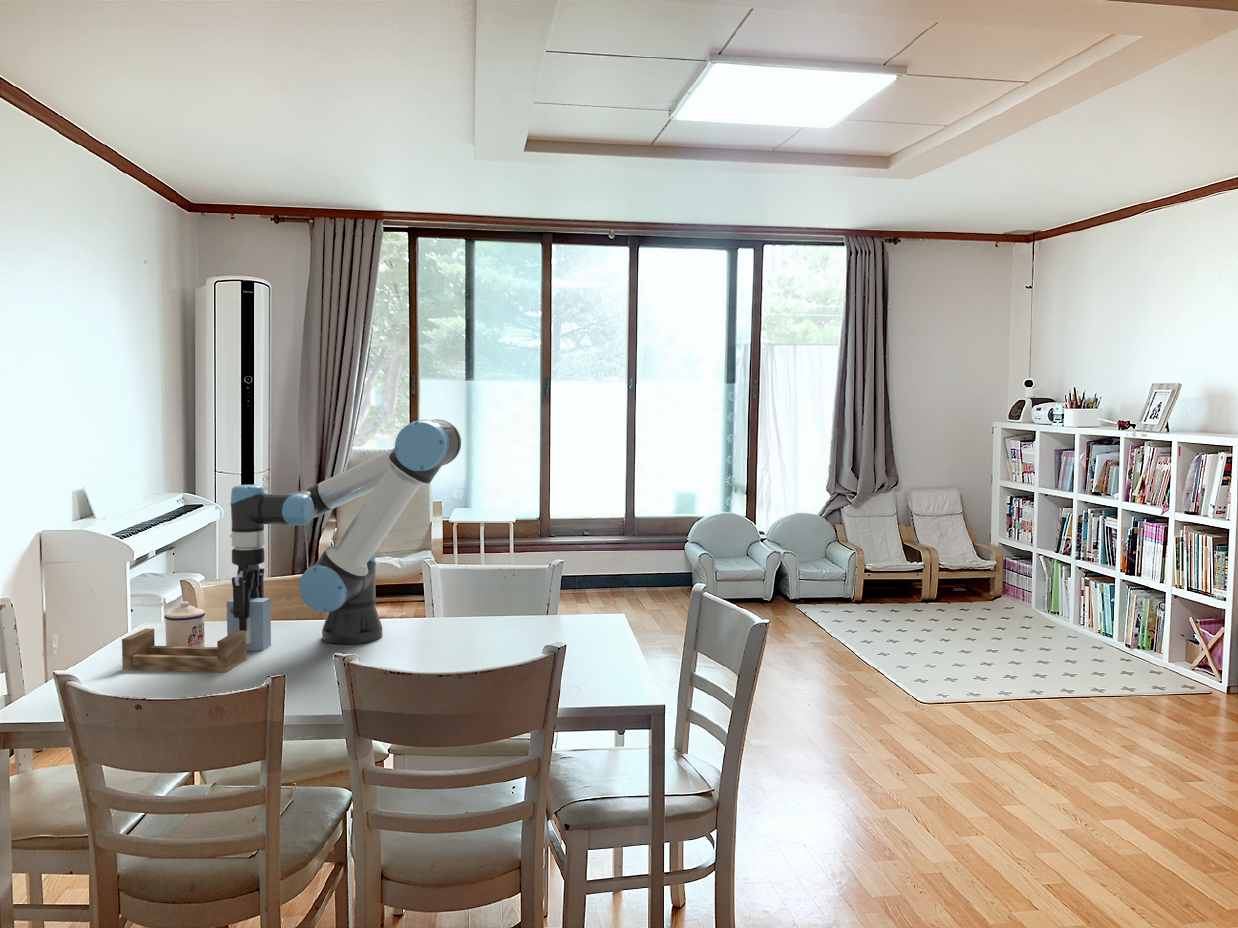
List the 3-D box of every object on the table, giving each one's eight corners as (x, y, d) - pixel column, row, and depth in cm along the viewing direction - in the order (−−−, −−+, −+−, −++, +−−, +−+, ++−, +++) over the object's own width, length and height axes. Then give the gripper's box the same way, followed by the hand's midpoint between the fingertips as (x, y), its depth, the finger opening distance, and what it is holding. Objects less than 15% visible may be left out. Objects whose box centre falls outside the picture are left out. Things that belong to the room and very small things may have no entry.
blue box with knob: (271, 645, 234) (270, 598, 233) (261, 651, 229) (261, 602, 228) (235, 644, 234) (234, 597, 234) (225, 650, 229) (224, 602, 228)
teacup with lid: (193, 654, 225) (192, 606, 224) (157, 653, 226) (156, 605, 225) (218, 641, 237) (217, 596, 236) (183, 640, 238) (182, 595, 237)
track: (245, 659, 221) (245, 630, 220) (226, 672, 211) (226, 641, 210) (146, 657, 222) (145, 628, 221) (122, 669, 212) (121, 639, 211)
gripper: (248, 541, 239) (249, 631, 241) (216, 553, 222) (217, 649, 223) (277, 542, 239) (278, 632, 241) (247, 553, 221) (248, 650, 223)
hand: (249, 640), depth 232 cm, fingers closed on blue box with knob, 4 cm apart
